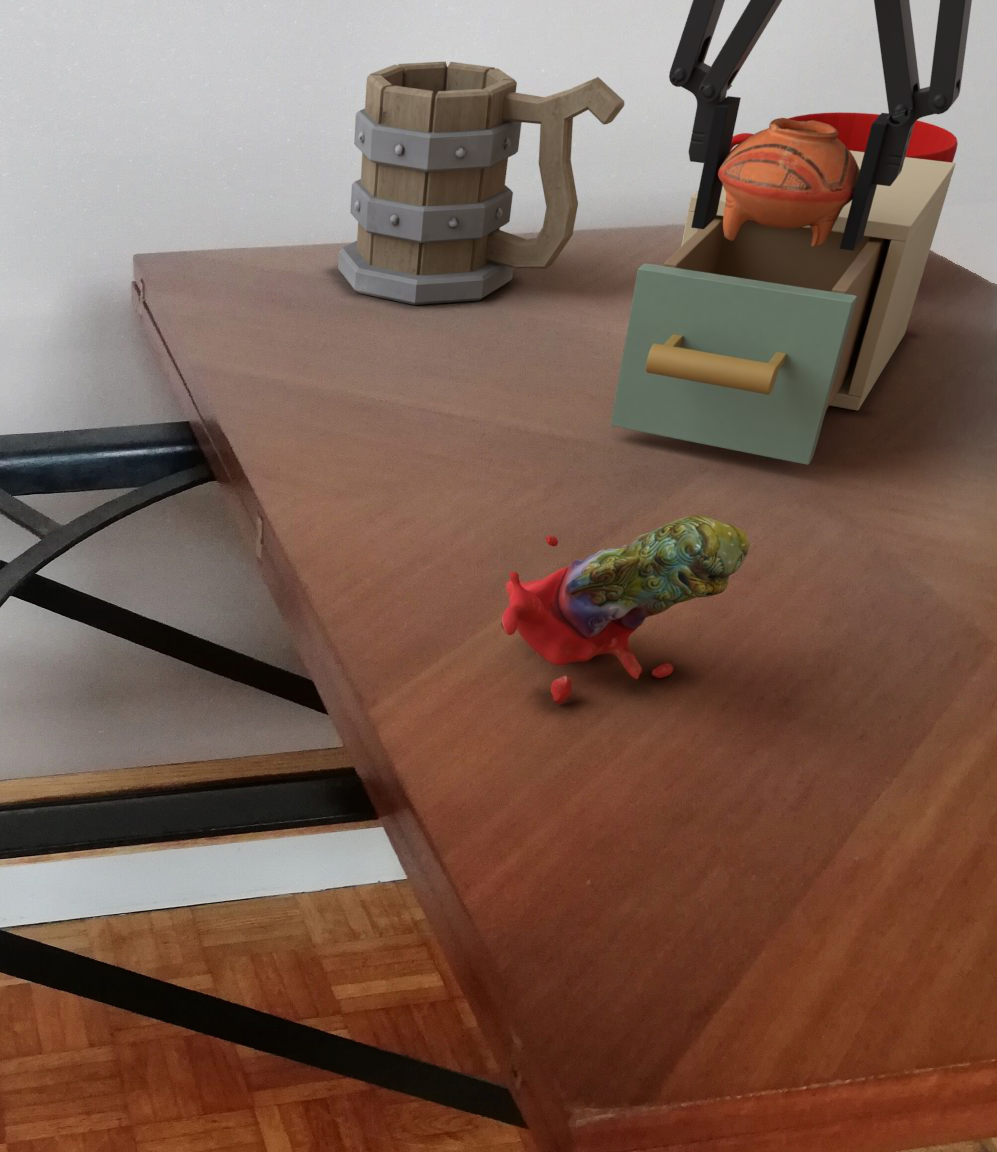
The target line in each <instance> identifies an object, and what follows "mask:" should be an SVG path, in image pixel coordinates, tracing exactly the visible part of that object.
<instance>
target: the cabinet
mask: <svg viewBox="0 0 997 1152" xmlns="http://www.w3.org/2000/svg"><path fill="white" fill-rule="evenodd" d="M850 152H851V153H852V155H853V156H854V158H855V160H856V162H857V164H858V167H859V169H860V168H861V164H862V160H863V156H864V152H858V151H850ZM955 166H956V163H955V162H953V163H951V162H942V161H934V160H926V159H917V158H909V157H905V159H904V163H903V167H902V171H901V172H900V174H899V175H898V177H897V178H896V180H895V181H894V182H893V183H892V185H891V186H884V185H877V187H876V191H875V195H874V198H873V202H872V206H871V210H870V213H869V217H868V221H867V225H866V228H865V232H864V236H869V237H876V238H884V239H887V241H886V244H885V248H884V252H883V255H882V259H881V262H880V266H879V270H878V273H877V277H876V280H875V284H874V288H873V291H872V295H871V298H870V302H869V306H868V309H867V313H866V316H865V320H864V323H863V327H862V331H861V334H860V338H859V341H858V345H857V349H856V352H855V356H854V359H853V362H852V367H851V370H850V374H849V376H848V377H847V379H846V380H845V382H844V384H843V385H842V387H841V388H840V390H839V391H838V393H837V394H836V396H835V397H834V399H833V400H832V402H831V404H830V405H829V407H835V408H839V409H840V408H841V409H847V410H852V411H859V410H860V408H861V406H862V405H863V403H865V400H866V398H867V397H868V395H869V393H870V392H871V390H872V388H873V387H874V386H875V384H876V382H877V380H878V379H879V377H880V375H881V373H883V370H884V369H885V368H886V365H887V364H888V362H889V361H890V359H891V357H892V356H893V354H894V353H895V351H896V350H897V347H898V346H899V345H900V342H901V341H902V339H903V338H904V336H905V335H906V332H907V329H908V324H909V321H910V318H911V315H912V312H913V308H914V304H915V302H916V298H917V295H918V292H919V288H920V285H921V282H922V277H923V275H924V271H925V268H926V264H927V262H928V257H929V254H930V251H931V248H932V244H933V241H934V237H935V234H936V231H937V227H938V223H939V221H940V219H941V218H940V217H941V214H942V210H943V207H944V204H945V201H946V198H947V193H948V191H949V187H950V183H951V180H952V177H953V174H954V170H955V168H956V167H955ZM698 191H699V189H697V191H695V192H694V193H693V194H692V195H691V196H690V198H689V203H688V209H687V211H688V212H687V215H686V219H685V224H684V230H683V235H682V240H681V245H680V247H681V246H683V245H684V244H685V243H686V242H687V241H688V240H689V239H690V238H691V237H692V236H693V235H694V234H695V233H696V232H697V231H698V230H699V229H697V228H691V226H692V221H693V216H694V211H695V206H696V201H697V196H698ZM725 202H726V191H725V189H724V187H722V191H721V196H720V201H719V206H718V211H717V215H718V216H724V208H725ZM851 203H852V200H851V201H850V202H849V203H848V204H846V205H845V206H844V207H843V209H842V210H841V212H840V214H839V216H838V218H837V220H836V222H835V224H834V226H833V228H832V230H831V231H833V232H840V233H844V230H845V226H846V222H847V218H848V214H849V210H850V207H851ZM750 220H751V219H750ZM803 227H804V228H809V227H811V226H810V225H808V226H803Z"/></svg>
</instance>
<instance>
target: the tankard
mask: <svg viewBox="0 0 997 1152" xmlns="http://www.w3.org/2000/svg"><path fill="white" fill-rule="evenodd" d="M365 84H366V86H365V100H364V101H365V102H364V108H362V109H360V110H357V112H355V122H354V140H353V141H354V142H353V144H354V146H355V147H356V148H357V149H358V150H359V151H360V152H361V168H360V178H359V179H357V180H355V181H353V182H352V183H351V191H350V194H351V195H350V210H349V212H350V214H351V216H352V217H353V218H354V219H355V220H356V222H357V233H356V234H357V236H356V240H355V241H353V242H351V243H349V244H348V245H346V246H344V247H342V248H340V250H339V251H338V260H337V262H338V263H337V269H338V271H339V272H340V273H341V275H342V276H343V277H344V278H345V280H346V281H347V282H348V283H349V284H350V286H351V287H352V289H353V290H354V291H355V292H356V293H357V294H362V295H366V296H372V297H377V298H381V299H386V300H390V301H394V302H399V303H403V304H408V305H414V306H418V305H419V306H421V305H433V304H446V303H448V304H449V303H459V302H461V303H462V302H474V301H476V302H477V301H480V300H482V299H483V298H485V297H487V296H488V295H490V294H491V293H493V292H495V291H496V290H498V289H500V288H501V287H503V286H504V285H506V284H508V283H509V282H511V281H512V280H513V274H514V269H516V270H518V269H519V270H520V269H521V270H522V269H524V270H525V269H526V270H528V269H531V270H532V269H533V270H534V269H537V270H539V269H540V270H541V269H542V270H543V269H544V270H545V269H548V268H549V267H552V266H553V264H554V263H555V262H556V260H557V258H558V257H559V255H560V254H561V252H562V251H563V249H564V248H565V247H566V245H567V244H568V242H569V241H570V240H571V238H572V236H573V235H574V234H573V233H574V230H575V229H574V228H575V224H576V218H577V211H578V208H579V201H578V195H577V189H576V183H575V177H574V171H573V165H572V144H573V127H574V118H576V117H577V116H579V115H581V114H583V113H585V112H587V111H589V112H590V113H591V114H592V115H593V117H595V118H596V119H597V120H598V121H599V122H600V123H601V125H608V124H610V123H612V122H613V121H614V120H615V119H616V117H617V116H618V115H619V114H620V112H621V111H622V110H623V108H624V107H625V100H624V99H623V98H622V97H621V96H619V94H618V93H616V92H615V91H614V90H613V89H612V88H611V87H610V86H609V85H608V84H606V82H604V81H603V80H602V79H601V78H600V77H599V76H597V77H595V78H591V79H590V80H588V81H585V82H582V83H581V84H578V85H576V86H574V87H571V88H569V89H566V90H562V91H559V92H557V93H554V94H550V95H547V96H540V95H539V96H538V95H533V94H529V93H528V94H526V93H521V92H517V87H518V86H517V85H518V82H517V81H516V80H515V79H514V78H513V77H511V76H510V75H509V74H507V73H506V72H504V71H503V70H501V69H499V68H496V67H494V66H486V65H480V64H479V65H478V64H472V63H463V62H456V61H450V62H449V64H448V65H447V62H446V61H428V62H409V63H398V64H393V65H390V66H387V67H385V68H382V69H379V70H377V71H374V72H372V73H370V74H369V75H367V77H366V83H365ZM523 123H525V124H535V125H539V148H538V168H539V174H540V179H541V185H542V190H543V196H544V203H545V206H546V207H545V214H544V218H543V224H542V228H541V229H540V231H539V233H538V234H537V236H536V237H533V238H524V237H521V236H518V235H516V234H512V233H510V232H507V231H504V230H501V228H502V227H504V226H506V225H507V224H508V223H510V221H511V212H512V205H513V195H514V192H513V190H512V189H511V188H509V186H507V185H506V178H507V171H508V162H509V161H508V160H509V158H511V157H513V156H514V155H516V154H517V153H518V152H519V149H520V139H521V131H522V124H523Z"/></svg>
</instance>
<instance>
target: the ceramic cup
mask: <svg viewBox="0 0 997 1152" xmlns="http://www.w3.org/2000/svg"><path fill="white" fill-rule="evenodd" d="M879 115H880V114H879V113H865V112H840V111H839V112H819V113H817V112H816V113H808V114H807V113H806V114H801V115H796V116H792V117H788V118H787V119H790V120H794V121H804V122H807V121H818V122H822V123H826V124H829V125H831V126H833V127H834V128H835V129H836V130H837V131H838V136H837V139H839V140H840V141H841V142H842V143H843V144H844V145H845V146H846V147H847V148H848V150H849V151H858V152H865V148H866V145H867V141H868V137H869V133H870V129H871V125H872V123H873V122H874V121H875V120H876V119H877V118H878V116H879ZM753 134H754V133H751V132H749V133H748V132H742V133H739V134H734V135H733V138H732V143H731V148H730V152H731V150H732V149H734V148H735V147H736V146H737V145H738V144H739V143H741V142H742V141H743V140H745V139H747V138H748V137H750V136H752V135H753ZM957 148H958V138H957V137H956V135H954V133H952V132H951V131H949V130H948V129H946V128H944V127H940V126H939V125H935V124H932V123H929V122H925V121H922V120H916V122H915V124H914V127H913V131H912V134H911V138H910V142H909V145H908V149H907V152H906V156H905V157H909V158H917V159H926V160H934V161H942V162H951V163H954V159H955V157H956V153H957Z"/></svg>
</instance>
